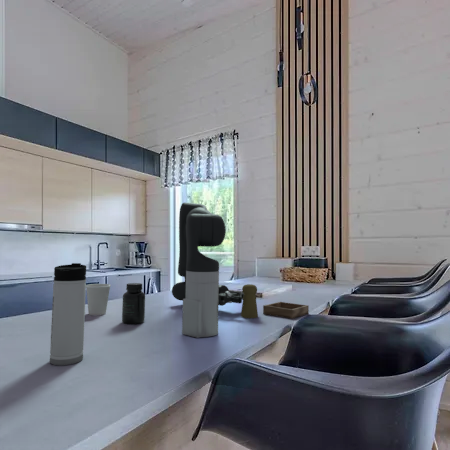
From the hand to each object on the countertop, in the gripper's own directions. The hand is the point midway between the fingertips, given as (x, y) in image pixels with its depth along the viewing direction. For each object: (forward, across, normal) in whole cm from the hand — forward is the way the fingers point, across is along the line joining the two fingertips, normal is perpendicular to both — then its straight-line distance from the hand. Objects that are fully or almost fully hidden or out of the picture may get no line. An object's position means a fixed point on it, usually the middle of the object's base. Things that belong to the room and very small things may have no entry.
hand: (248, 298), depth 118 cm
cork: (0, 0, +6) cm, 6 cm away
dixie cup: (-41, -34, +6) cm, 53 cm away
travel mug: (-1, -63, +6) cm, 63 cm away
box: (+7, +13, +6) cm, 16 cm away
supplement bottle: (-21, -33, +6) cm, 39 cm away
